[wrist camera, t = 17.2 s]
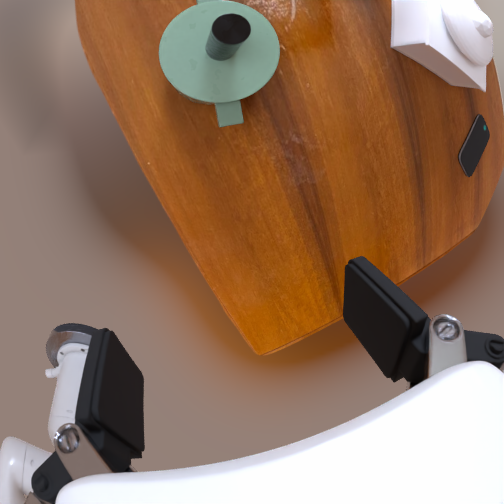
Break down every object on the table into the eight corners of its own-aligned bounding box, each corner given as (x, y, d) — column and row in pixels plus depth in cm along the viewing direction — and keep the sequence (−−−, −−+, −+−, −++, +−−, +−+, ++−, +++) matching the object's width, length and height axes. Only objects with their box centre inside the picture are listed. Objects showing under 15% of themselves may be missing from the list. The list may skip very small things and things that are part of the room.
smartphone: (490, 135, 40) (469, 180, 44) (488, 134, 40) (467, 178, 44) (481, 111, 36) (459, 158, 40) (478, 111, 37) (456, 157, 41)
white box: (450, 18, 26) (509, 17, 12) (451, 87, 34) (517, 98, 20) (390, -25, 21) (453, -45, 7) (389, 49, 29) (468, 43, 15)
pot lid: (170, 114, 22) (164, 112, 16) (153, 15, 17) (144, -14, 10) (284, 95, 24) (315, 90, 18) (266, 1, 18) (291, -27, 12)
